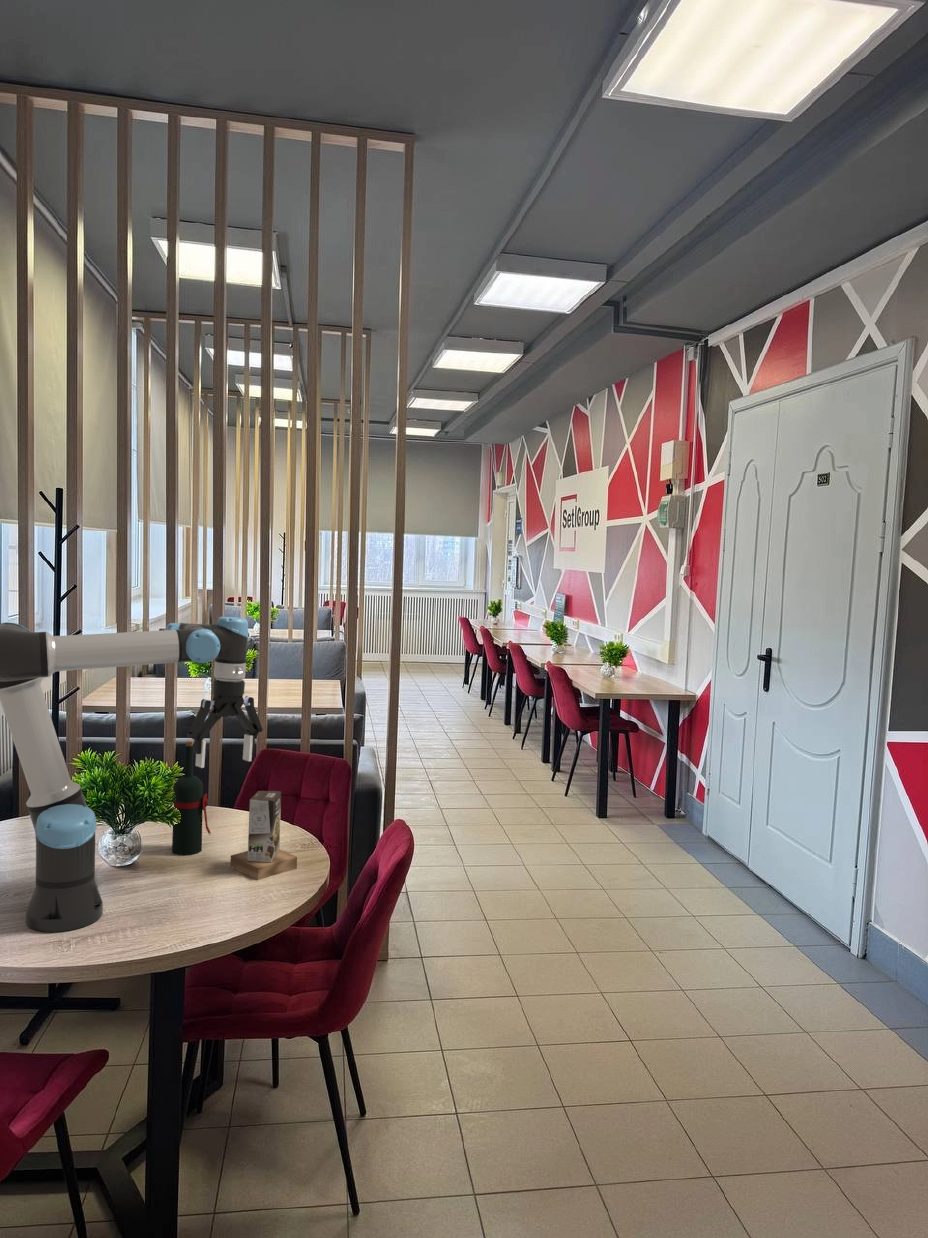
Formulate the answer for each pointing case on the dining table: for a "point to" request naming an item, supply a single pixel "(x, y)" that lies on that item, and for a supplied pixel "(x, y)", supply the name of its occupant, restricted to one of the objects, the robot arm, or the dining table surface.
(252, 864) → the block
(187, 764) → the wine bottle
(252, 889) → the dining table surface
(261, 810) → the coffee box
